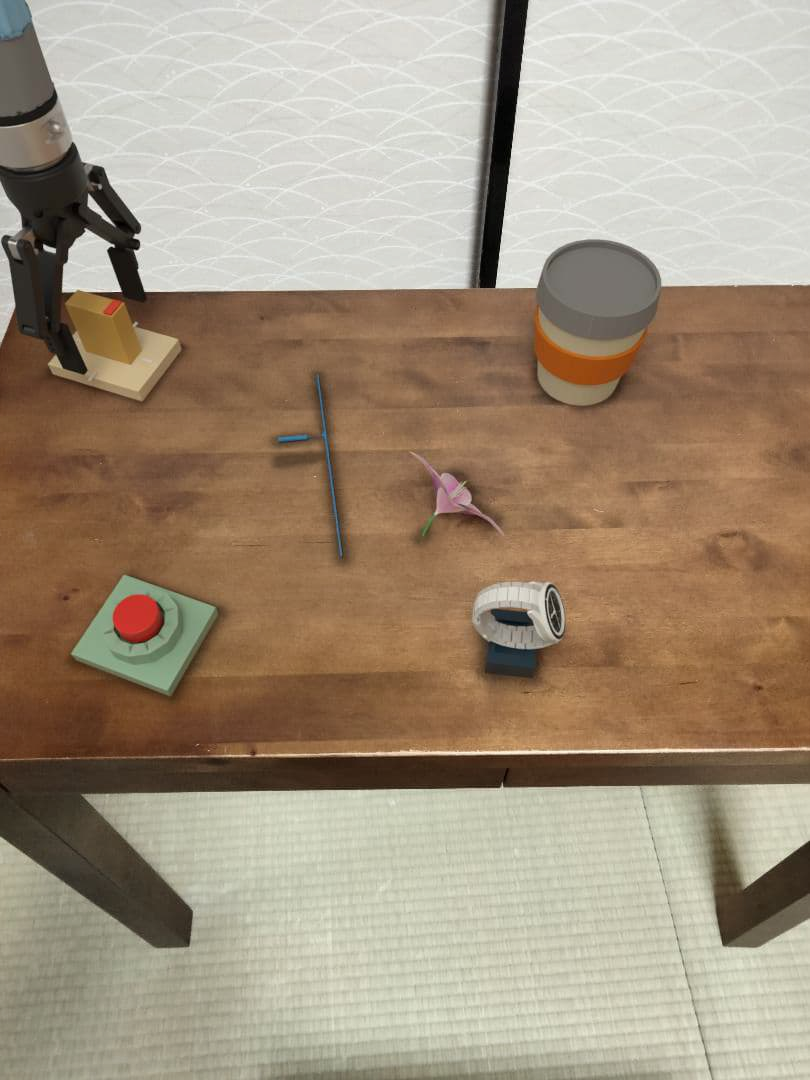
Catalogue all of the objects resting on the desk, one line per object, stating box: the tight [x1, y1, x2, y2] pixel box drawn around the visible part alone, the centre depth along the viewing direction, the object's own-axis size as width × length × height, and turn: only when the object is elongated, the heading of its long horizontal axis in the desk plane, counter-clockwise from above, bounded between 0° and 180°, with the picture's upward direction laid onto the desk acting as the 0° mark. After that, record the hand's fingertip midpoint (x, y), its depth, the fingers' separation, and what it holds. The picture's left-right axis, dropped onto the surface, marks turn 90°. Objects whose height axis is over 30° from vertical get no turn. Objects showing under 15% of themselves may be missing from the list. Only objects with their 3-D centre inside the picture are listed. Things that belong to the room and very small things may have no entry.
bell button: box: [112, 594, 163, 642], centre depth 73 cm, size 4×4×2 cm
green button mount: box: [70, 574, 219, 697], centre depth 75 cm, size 10×9×4 cm
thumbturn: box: [64, 289, 141, 364], centre depth 91 cm, size 6×2×7 cm, turn 69°
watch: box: [471, 580, 566, 679], centre depth 72 cm, size 6×8×11 cm
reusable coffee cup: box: [533, 238, 662, 406], centre depth 89 cm, size 13×12×15 cm
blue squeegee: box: [277, 374, 343, 558], centre depth 88 cm, size 1×25×5 cm
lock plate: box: [47, 321, 183, 402], centre depth 95 cm, size 12×10×3 cm
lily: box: [409, 451, 506, 538], centre depth 81 cm, size 12×12×10 cm
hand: (106, 332), depth 92 cm, fingers open, 12 cm apart
